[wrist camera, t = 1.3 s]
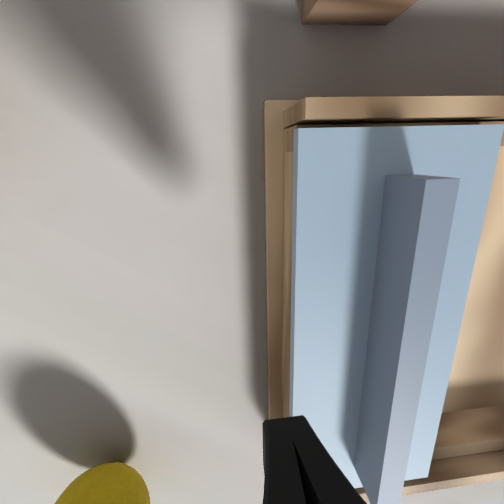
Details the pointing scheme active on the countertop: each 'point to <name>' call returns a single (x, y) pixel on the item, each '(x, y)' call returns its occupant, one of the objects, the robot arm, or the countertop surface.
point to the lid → (382, 287)
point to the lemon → (107, 486)
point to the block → (353, 11)
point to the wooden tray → (479, 294)
